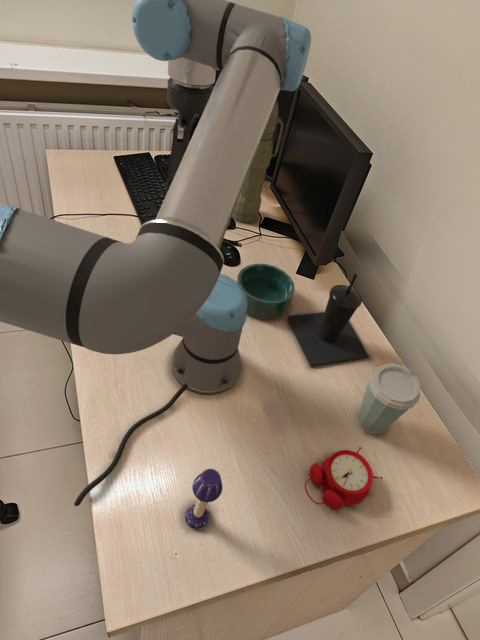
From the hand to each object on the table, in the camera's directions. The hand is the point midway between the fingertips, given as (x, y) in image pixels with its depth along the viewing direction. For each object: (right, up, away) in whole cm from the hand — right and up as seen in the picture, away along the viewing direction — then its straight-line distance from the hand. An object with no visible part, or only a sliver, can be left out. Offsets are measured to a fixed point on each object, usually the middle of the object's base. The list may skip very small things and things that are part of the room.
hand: (183, 201), depth 89 cm
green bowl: (+15, -16, +31) cm, 38 cm away
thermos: (+9, +13, +54) cm, 57 cm away
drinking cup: (+32, -25, +26) cm, 48 cm away
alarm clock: (+30, -55, +1) cm, 63 cm away
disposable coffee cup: (+39, -45, +13) cm, 61 cm away
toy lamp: (+4, -58, -8) cm, 59 cm away
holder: (+31, -26, +27) cm, 49 cm away
